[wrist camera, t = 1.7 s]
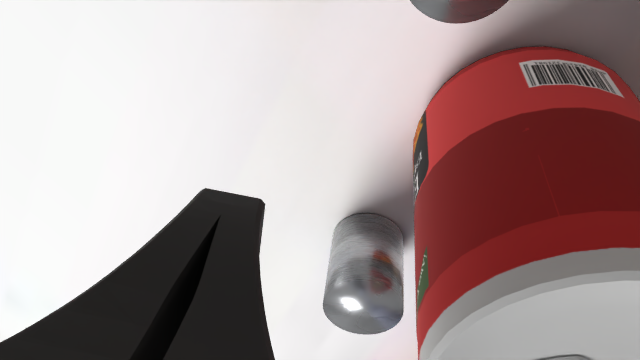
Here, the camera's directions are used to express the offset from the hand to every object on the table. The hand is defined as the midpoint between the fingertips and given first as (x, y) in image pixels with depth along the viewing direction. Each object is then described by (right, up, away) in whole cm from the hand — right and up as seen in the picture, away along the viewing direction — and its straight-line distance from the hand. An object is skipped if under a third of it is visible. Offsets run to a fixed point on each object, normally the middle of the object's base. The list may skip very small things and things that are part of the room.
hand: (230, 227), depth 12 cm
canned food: (+10, +3, +9) cm, 13 cm away
